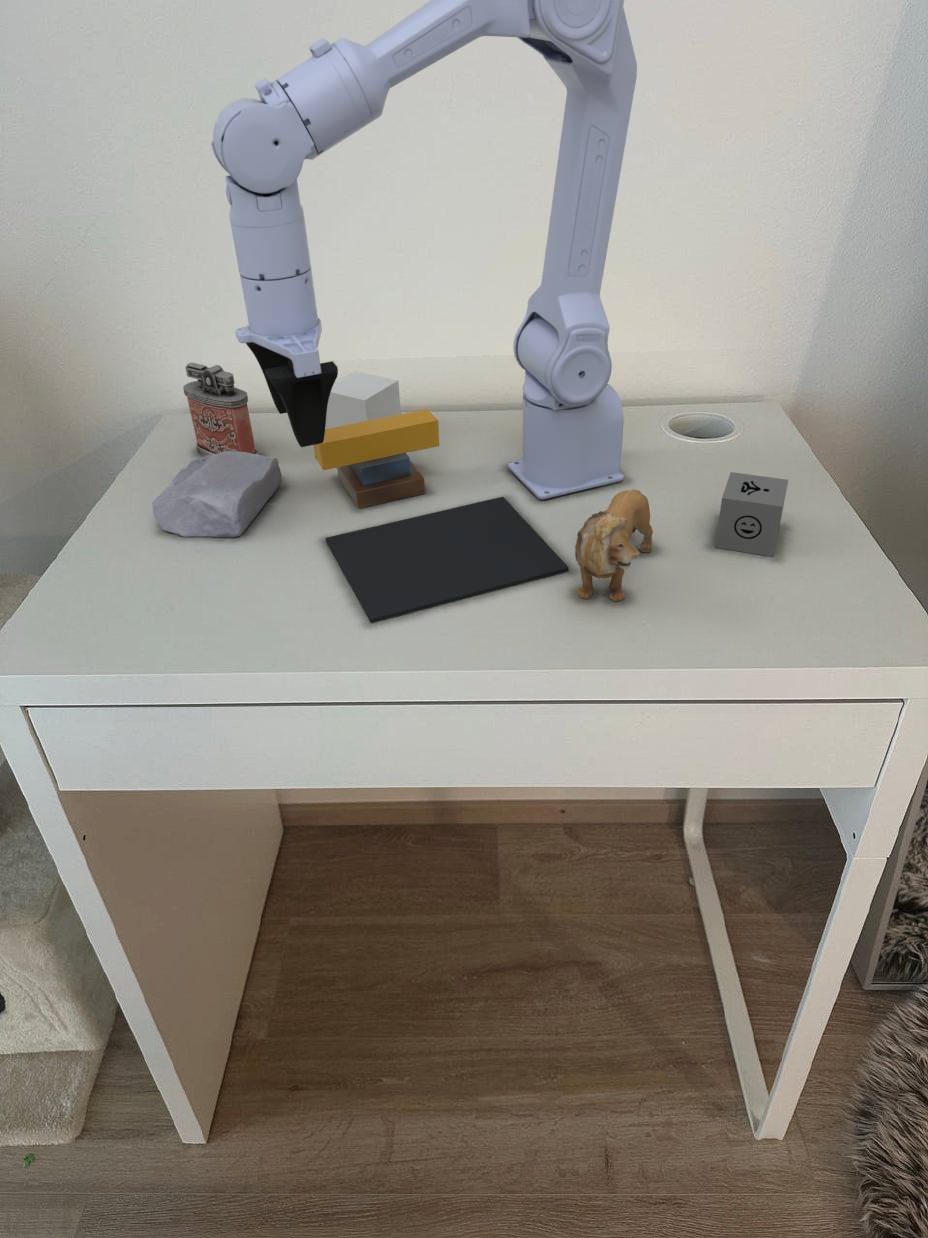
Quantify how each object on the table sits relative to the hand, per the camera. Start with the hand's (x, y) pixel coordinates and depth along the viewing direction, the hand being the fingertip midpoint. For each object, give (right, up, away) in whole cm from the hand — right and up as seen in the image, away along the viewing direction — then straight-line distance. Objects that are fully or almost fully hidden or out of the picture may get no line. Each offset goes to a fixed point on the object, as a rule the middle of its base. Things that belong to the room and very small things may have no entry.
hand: (300, 426), depth 83 cm
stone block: (-10, -6, +10) cm, 15 cm away
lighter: (-11, 0, +19) cm, 22 cm away
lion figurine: (+28, -14, -3) cm, 31 cm away
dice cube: (+40, -10, +1) cm, 41 cm away
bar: (+6, -1, +9) cm, 11 cm away
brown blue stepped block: (+6, -4, +12) cm, 14 cm away
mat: (+13, -11, +1) cm, 17 cm away
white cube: (+4, +3, +21) cm, 22 cm away
